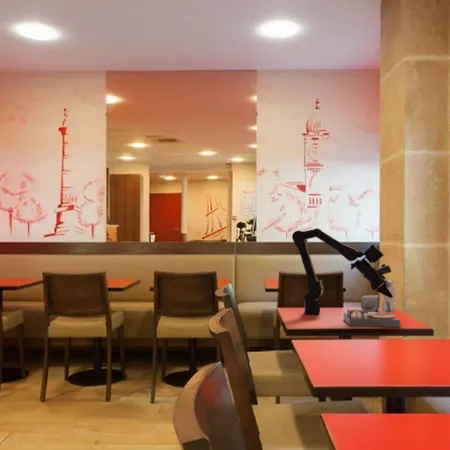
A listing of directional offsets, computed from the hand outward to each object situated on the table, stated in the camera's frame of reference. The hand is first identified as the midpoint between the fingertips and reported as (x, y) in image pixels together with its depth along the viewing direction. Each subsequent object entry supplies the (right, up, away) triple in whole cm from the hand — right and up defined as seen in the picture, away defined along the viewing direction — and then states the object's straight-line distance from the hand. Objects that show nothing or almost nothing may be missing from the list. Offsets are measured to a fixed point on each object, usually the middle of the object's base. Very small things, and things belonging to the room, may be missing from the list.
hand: (392, 296), depth 222 cm
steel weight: (-1, -7, 0) cm, 7 cm away
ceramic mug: (-3, -11, +22) cm, 25 cm away
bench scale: (-13, -10, -11) cm, 20 cm away
